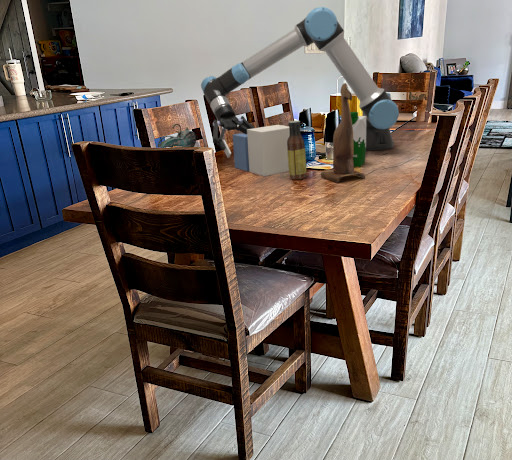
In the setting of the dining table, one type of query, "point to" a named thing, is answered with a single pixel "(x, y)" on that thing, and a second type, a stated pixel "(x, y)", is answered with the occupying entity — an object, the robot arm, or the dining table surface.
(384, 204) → the dining table surface
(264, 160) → the light grey upright box
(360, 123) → the milk carton
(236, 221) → the dining table surface
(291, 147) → the sauce bottle
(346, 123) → the bird sculpture
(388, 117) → the robot arm
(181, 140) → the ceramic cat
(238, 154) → the blue rectangular block
